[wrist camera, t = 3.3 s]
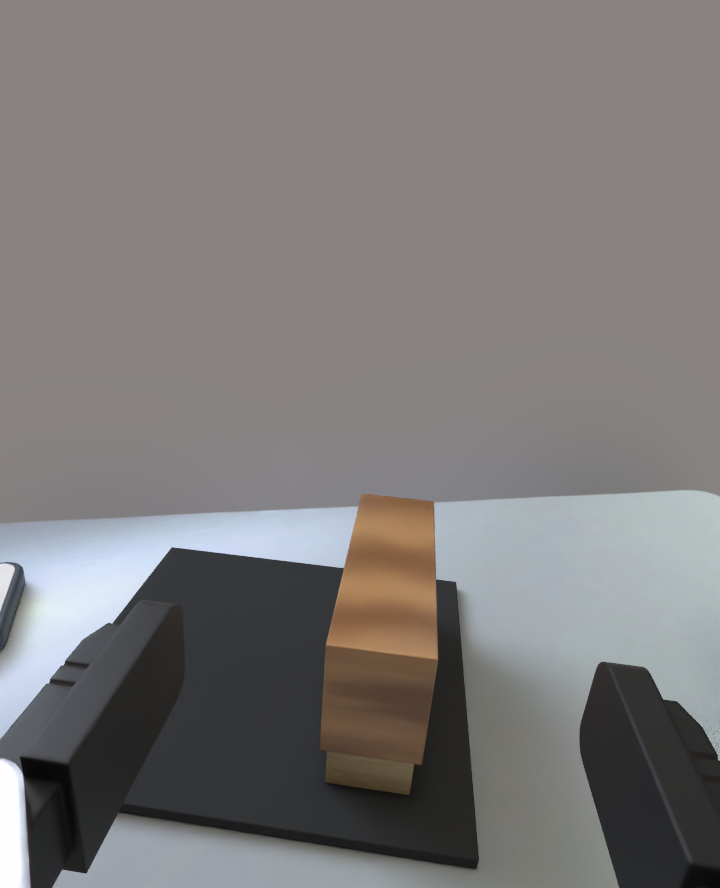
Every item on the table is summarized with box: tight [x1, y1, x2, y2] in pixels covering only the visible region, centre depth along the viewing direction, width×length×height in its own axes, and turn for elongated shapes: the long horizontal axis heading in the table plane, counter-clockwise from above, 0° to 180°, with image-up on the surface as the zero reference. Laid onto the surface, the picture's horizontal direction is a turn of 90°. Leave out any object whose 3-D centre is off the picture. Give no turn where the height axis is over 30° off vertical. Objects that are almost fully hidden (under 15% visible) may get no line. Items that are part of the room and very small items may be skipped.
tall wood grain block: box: [320, 494, 438, 795], centre depth 31 cm, size 14×5×8 cm, turn 174°
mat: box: [113, 548, 479, 868], centre depth 34 cm, size 22×20×1 cm
